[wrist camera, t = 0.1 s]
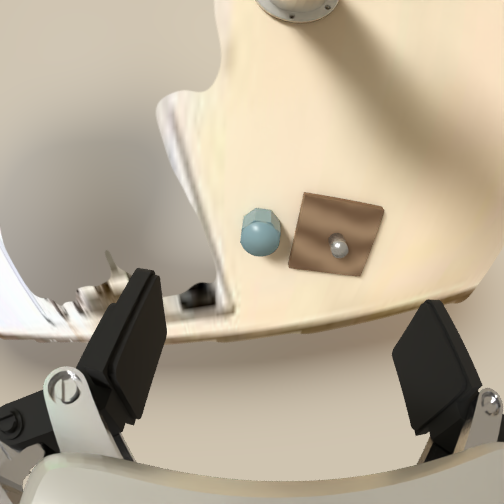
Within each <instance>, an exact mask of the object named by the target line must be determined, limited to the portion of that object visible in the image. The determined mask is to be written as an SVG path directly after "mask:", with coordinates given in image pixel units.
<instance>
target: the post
mask: <svg viewBox="0 0 504 504" xmlns="http://www.w3.org/2000/svg"><path fill="white" fill-rule="evenodd" d="M328 243H329V246H330V249H331V252H332V255H333V256H334V257H335V258H343V257H345V256H346V255H347V254H348V246H347V244H346V242H345V239H344V237H343V235H342V234H340V233H333V234H332V235H330V237H329V239H328Z"/></svg>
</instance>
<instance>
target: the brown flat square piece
mask: <svg viewBox="0 0 504 504" xmlns="http://www.w3.org/2000/svg"><path fill="white" fill-rule="evenodd" d="M383 213H384V209H383V208H382V207H381V206H376V205H371V204H367V203H362V202H356V201H351V200H346V199H341V198H335V197H329V196H324V195H318V194H312V193H306V192H304V194H303V199H302V204H301V208H300V213H299V218H298V222H297V227H296V231H295V236H294V240H293V245H292V249H291V253H290V258H289V262H288V265H289V268H294V269H302V270H311V271H319V272H327V273H335V274H344V275H352V276H360V275H361V273H362V270H363V268H364V265H365V263H366V260H367V258H368V255H369V253H370V250H371V247H372V245H373V242H374V239H375V236H376V234H377V231H378V228H379V225H380V222H381V219H382V216H383ZM333 233H340V234H342V235H343V237H344V239H345V242H346V244H347V246H348V254H347V255H346V256H345V257H343V258H335V257H334V256H333V255H332V252H331V249H330V246H329V243H328V239H329V237H330V235H332V234H333Z"/></svg>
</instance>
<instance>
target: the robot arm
mask: <svg viewBox="0 0 504 504" xmlns="http://www.w3.org/2000/svg"><path fill="white" fill-rule="evenodd" d="M338 1H339V0H256V2H257V3H258V5H259V6H260V7H261V8H262V9H263V10H264V11H266V12H267V13H268V14H270V15H272V16H274V17H276V18H278V19H281V20H284V21H288V22H294V23H306V22H312V21H316V20H319V19H321V18H323V17H325V16H326V15H328V14H329V13H330V12H331V11H332V10H333V9H334V8H335V7H336V5H337V3H338ZM325 8H328V10H327V9H325ZM290 16H293V19H291V18H290ZM166 335H167V328H166V321H165V314H164V307H163V299H162V291H161V283H160V277H159V276H157V275H155V272H154V271H153V270H147V269H140V268H137V269H136V270H135V272H134V273H133V275H132V277H131V278H130V280H129V282H128V283H127V285H126V287H125V289H124V290H123V292H122V294H121V296H120V298H119V299H118V301H117V303H112V304H110V305H109V307H108V308H107V310H106V311H105V313H104V315H103V317H102V319H101V320H100V322H99V324H98V326H97V328H96V330H95V332H94V333H93V335H92V337H91V339H90V341H89V343H88V345H87V347H86V349H85V351H84V353H83V355H82V357H81V359H80V361H79V363H78V365H77V367H76V369H75V368H73V367H67V366H65V367H60V368H57V369H55V370H53V371H52V372H51V373H50V374H49V375H48V376H47V378H46V380H45V382H44V386H43V390H41V391H38V392H36V393H33V394H31V395H28V396H26V397H23V398H21V399H18V400H16V401H13V402H10V403H8V404H5V405H3V406H2V407H0V504H504V414H502V413H503V404H502V400H501V398H500V396H499V395H498V394H497V392H495V391H494V390H493V389H490V388H485V389H482V390H481V391H480V392H478V389H479V388H480V387H481V386H482V383H481V381H480V378H479V376H478V373H477V371H476V369H475V367H474V364H473V362H472V360H471V358H470V356H469V353H468V351H467V349H466V347H465V345H464V343H463V341H462V339H461V337H460V335H459V333H458V331H457V329H456V328H455V325H454V324H453V321H452V320H451V318H450V316H449V314H448V312H447V310H446V309H445V307H444V305H443V303H442V302H441V301H440V300H426V301H425V302H424V303H423V304H421V306H420V307H419V309H418V311H417V312H416V314H415V316H414V317H413V319H412V321H411V322H410V324H409V326H408V327H407V329H406V330H405V332H404V333H403V335H402V337H401V338H400V340H399V341H398V343H397V344H396V346H395V347H394V349H393V352H392V357H393V361H394V364H395V367H396V371H397V374H398V377H399V381H400V385H401V388H402V391H403V395H404V399H405V403H406V407H407V411H408V415H409V419H410V423H411V427H412V428H413V429H414V430H415V435H416V436H417V435H422V434H426V433H428V432H430V437H429V440H428V442H427V444H426V446H425V449H424V451H423V453H422V455H421V457H420V459H419V461H418V463H417V465H414V466H410V467H406V468H402V469H397V470H393V471H387V472H382V473H377V474H371V475H365V476H357V477H350V478H341V479H330V480H317V481H251V480H238V479H227V478H218V477H211V476H203V475H197V474H190V473H184V472H178V471H173V470H168V469H163V468H159V467H154V466H150V465H145V464H141V463H137V462H136V460H135V459H134V457H133V455H132V453H131V451H130V449H129V447H128V446H127V444H126V442H125V440H124V438H123V436H122V434H121V432H122V431H123V429H124V426H125V423H127V424H131V425H134V423H135V420H136V419H140V418H141V416H142V414H143V410H144V407H145V403H146V400H147V397H148V393H149V390H150V386H151V383H152V380H153V377H154V374H155V371H156V367H157V364H158V361H159V358H160V355H161V352H162V348H163V346H164V343H165V340H166ZM35 465H36V466H35ZM34 466H35V467H34ZM33 467H34V469H33V470H32V472H30V469H31V468H33ZM30 473H31V474H30ZM28 474H30V476H29V478H28V480H27V483H26V485H25V488H24V491H23V488H22V485H23V480H24V479H25V477H26V476H27V475H28Z"/></svg>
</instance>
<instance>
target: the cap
mask: <svg viewBox="0 0 504 504" xmlns="http://www.w3.org/2000/svg"><path fill="white" fill-rule="evenodd" d="M280 234H281V232H280V221H279V219H278V218H277V217H276V216H275V215H274V213H273V212H272V211H271V210H266V209H259V208H255V209H254V210H253V211H251V212H250V213H248V214H247V215H245V216H244V220H243V226H242V233H241V242H240V243H241V244H242V246H243V248H244V249H245V250H246V251H247V252H248V253H250V254H252V255H254V256H267V255H270V254H271V253H273V252H274V251H275V250H276V249H277V248H278V246H279V242H280Z"/></svg>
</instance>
